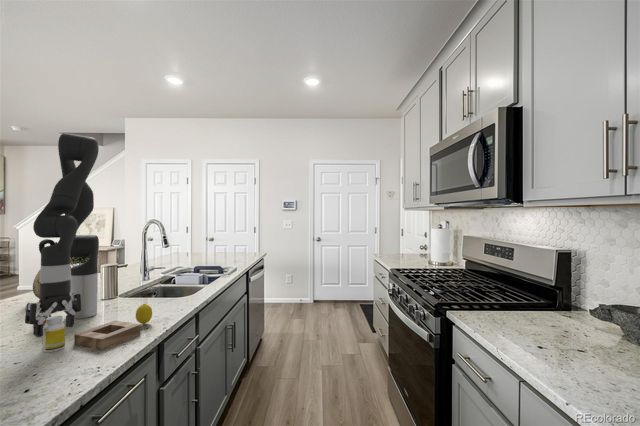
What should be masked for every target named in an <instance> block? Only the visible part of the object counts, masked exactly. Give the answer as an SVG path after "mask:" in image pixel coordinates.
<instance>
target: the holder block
mask: <svg viewBox="0 0 640 426" xmlns="http://www.w3.org/2000/svg"><path fill="white" fill-rule="evenodd" d="M141 324H142V323H133V322H129V321H128V322H127V321H122V320H121V321H120V320H112V321H110V322H106V323H104V324H101V325H98V326H95V327H93V328H90V329H86V330H83V331H80V332H77V333H75V334H74V337H73V345H74V346H76V347H80V348H86V349H91V350H95V351H96V350H97V351H100V352H101V351H105V350H107V349H109V348H112V347H114V346H117V345H119V344H122V343H123V342H125V341H128V340H130V339H133V338H136V337H138V336H140V335H141V331H142V330H141Z"/></svg>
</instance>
